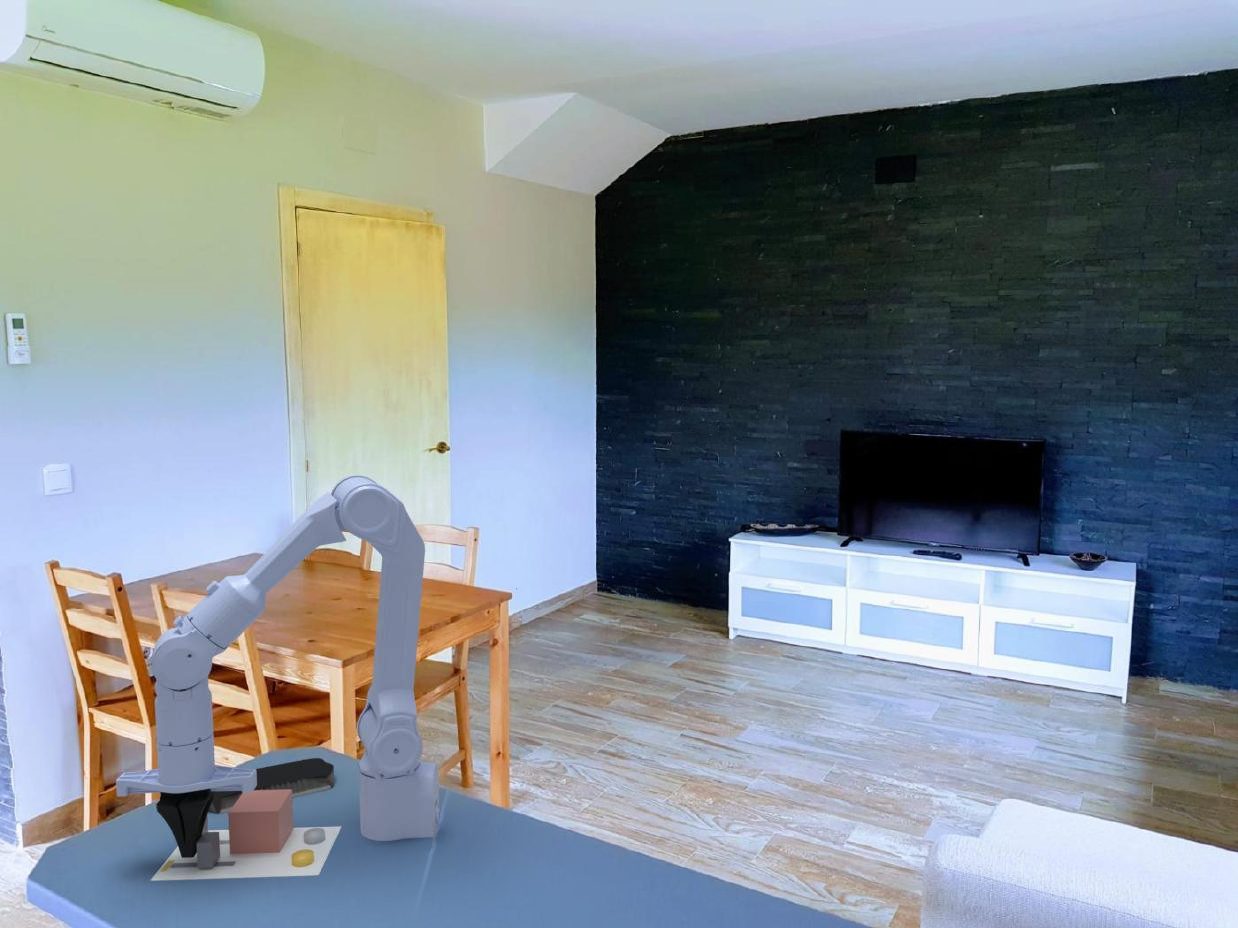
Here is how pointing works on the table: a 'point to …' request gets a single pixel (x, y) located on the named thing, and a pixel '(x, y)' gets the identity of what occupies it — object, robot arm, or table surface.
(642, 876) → the table surface
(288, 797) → the reddish pink block
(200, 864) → the handle
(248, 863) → the breaker panel
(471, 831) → the table surface
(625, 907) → the table surface
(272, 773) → the black brush
